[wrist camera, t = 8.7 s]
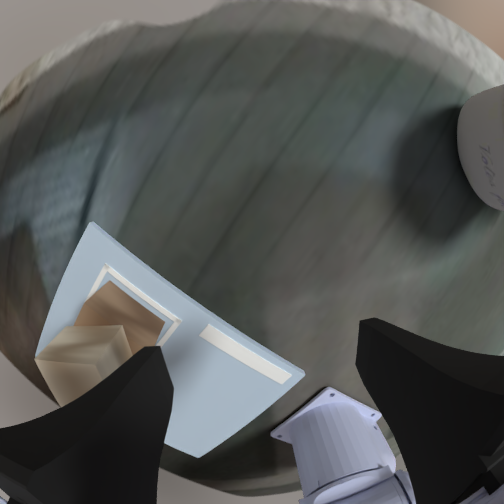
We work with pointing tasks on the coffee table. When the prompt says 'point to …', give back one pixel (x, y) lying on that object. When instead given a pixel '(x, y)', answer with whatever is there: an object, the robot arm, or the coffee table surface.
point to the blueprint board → (179, 345)
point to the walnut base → (121, 316)
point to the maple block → (82, 359)
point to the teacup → (483, 144)
